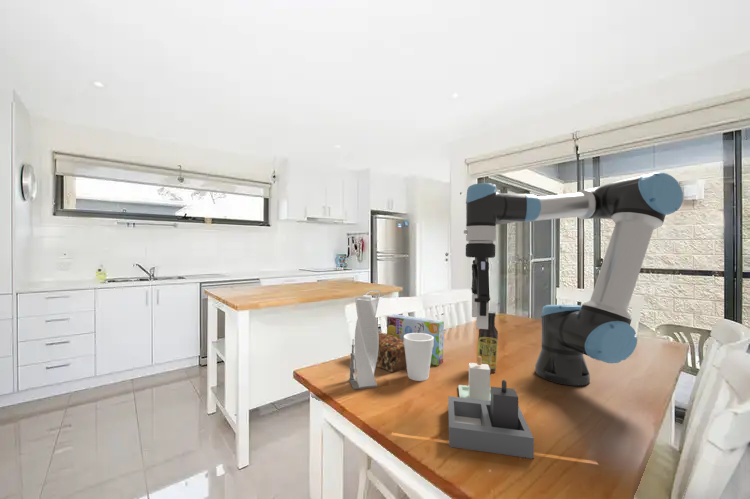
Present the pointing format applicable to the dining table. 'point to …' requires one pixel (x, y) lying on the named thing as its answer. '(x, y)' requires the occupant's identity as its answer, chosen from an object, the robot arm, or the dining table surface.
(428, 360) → the foam cup
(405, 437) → the dining table surface
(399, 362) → the bread
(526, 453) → the grey desk organizer
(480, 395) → the white block with knob
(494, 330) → the sauce bottle
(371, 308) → the skyscraper
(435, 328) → the snack box
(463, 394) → the tray
